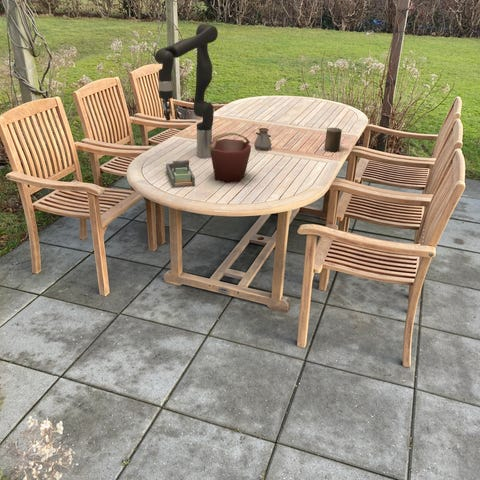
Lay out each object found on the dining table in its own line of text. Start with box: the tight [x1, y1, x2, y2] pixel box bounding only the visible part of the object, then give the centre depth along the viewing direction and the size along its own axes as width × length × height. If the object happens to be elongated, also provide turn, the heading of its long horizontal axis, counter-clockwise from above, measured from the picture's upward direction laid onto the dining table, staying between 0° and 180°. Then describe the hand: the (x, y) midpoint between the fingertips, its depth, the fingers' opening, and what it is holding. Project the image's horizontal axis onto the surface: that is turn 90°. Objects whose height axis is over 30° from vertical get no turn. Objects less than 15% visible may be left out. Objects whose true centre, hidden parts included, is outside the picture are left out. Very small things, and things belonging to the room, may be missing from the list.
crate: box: [172, 159, 191, 183], centre depth 271 cm, size 8×10×11 cm
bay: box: [165, 162, 196, 189], centre depth 277 cm, size 12×23×5 cm, turn 16°
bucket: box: [209, 132, 252, 184], centre depth 277 cm, size 24×22×25 cm
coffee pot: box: [253, 127, 273, 151], centre depth 319 cm, size 21×12×15 cm, turn 159°
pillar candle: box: [324, 127, 342, 153], centre depth 325 cm, size 10×10×15 cm
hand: (166, 118), depth 282 cm, fingers open, 8 cm apart
